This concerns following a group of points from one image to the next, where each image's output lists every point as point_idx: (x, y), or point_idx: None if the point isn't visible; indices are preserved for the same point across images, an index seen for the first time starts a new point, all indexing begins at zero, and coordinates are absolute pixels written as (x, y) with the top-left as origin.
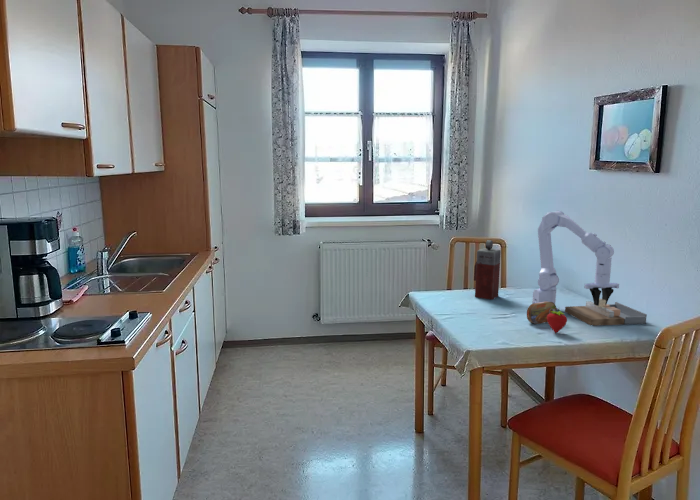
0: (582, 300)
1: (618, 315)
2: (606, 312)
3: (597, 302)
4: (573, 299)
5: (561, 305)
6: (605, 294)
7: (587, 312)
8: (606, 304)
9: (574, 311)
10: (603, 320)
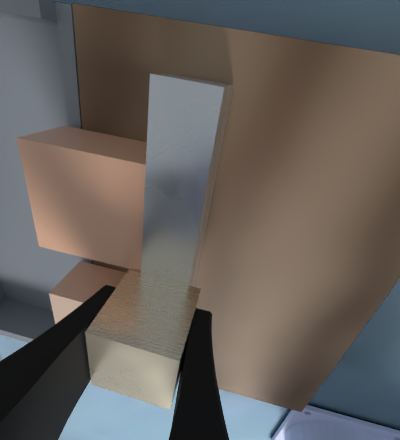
0: (78, 416)
1: (78, 128)
2: (216, 155)
3: (209, 339)
4: (105, 432)
5: None
6: (27, 433)
7: (281, 292)
8: (63, 317)
9: (348, 343)
10: (350, 49)
